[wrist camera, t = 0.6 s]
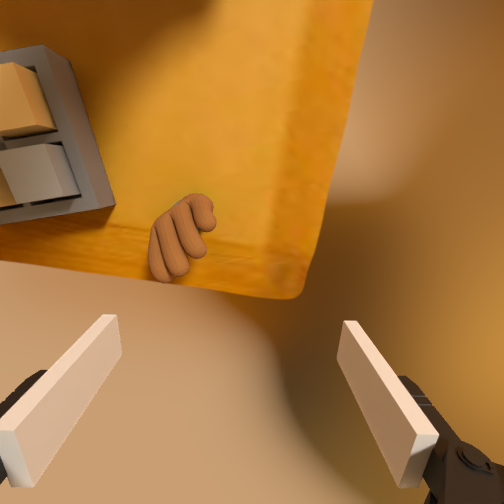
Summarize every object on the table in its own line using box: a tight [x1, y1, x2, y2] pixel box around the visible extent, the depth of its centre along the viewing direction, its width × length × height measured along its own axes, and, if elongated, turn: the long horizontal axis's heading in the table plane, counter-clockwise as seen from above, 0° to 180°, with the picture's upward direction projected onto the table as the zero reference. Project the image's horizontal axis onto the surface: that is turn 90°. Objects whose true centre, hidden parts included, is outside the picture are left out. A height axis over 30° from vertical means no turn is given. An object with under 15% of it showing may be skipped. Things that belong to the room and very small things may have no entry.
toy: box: [148, 194, 216, 283], centre depth 32 cm, size 12×7×15 cm, turn 129°
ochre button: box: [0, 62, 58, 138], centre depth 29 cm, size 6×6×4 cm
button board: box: [0, 44, 116, 225], centre depth 33 cm, size 18×18×4 cm
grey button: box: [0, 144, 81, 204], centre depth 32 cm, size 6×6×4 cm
